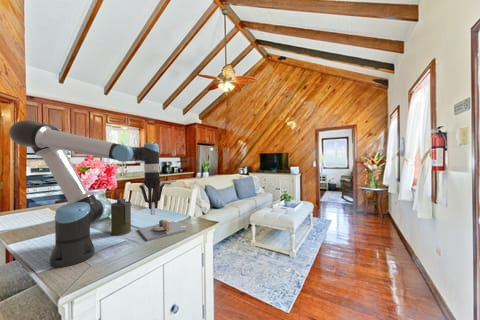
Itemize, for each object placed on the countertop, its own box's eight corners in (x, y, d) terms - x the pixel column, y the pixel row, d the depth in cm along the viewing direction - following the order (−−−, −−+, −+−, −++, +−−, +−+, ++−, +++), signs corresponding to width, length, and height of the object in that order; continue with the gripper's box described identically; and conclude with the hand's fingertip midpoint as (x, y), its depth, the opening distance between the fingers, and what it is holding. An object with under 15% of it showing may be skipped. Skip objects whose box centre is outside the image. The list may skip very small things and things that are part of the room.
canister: (106, 233, 115) (106, 199, 115) (124, 228, 124) (124, 196, 124) (118, 237, 110) (117, 201, 110) (135, 231, 119) (135, 198, 119)
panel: (147, 241, 105) (147, 238, 105) (138, 230, 120) (138, 228, 120) (189, 230, 120) (189, 228, 120) (176, 222, 135) (176, 220, 135)
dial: (150, 228, 120) (150, 218, 120) (167, 224, 126) (167, 215, 126) (158, 235, 109) (158, 224, 109) (176, 231, 115) (176, 221, 115)
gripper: (140, 172, 101) (141, 218, 101) (166, 171, 109) (167, 213, 110) (137, 171, 107) (138, 215, 107) (161, 170, 115) (162, 210, 115)
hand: (152, 214), depth 108 cm, fingers closed
